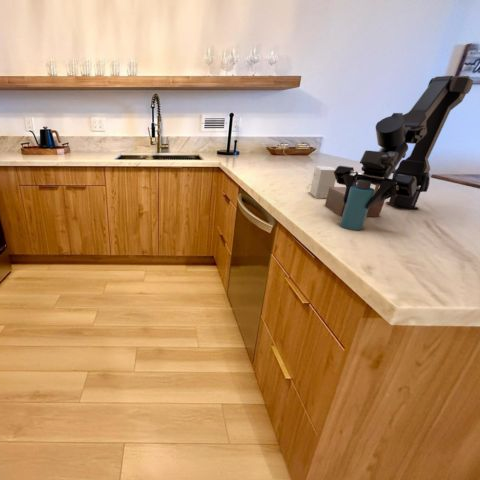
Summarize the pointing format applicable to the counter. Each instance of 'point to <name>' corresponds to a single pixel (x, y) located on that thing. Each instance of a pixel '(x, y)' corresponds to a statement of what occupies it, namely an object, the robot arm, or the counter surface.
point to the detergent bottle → (357, 205)
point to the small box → (322, 181)
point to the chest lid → (342, 190)
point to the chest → (338, 206)
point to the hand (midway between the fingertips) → (355, 205)
